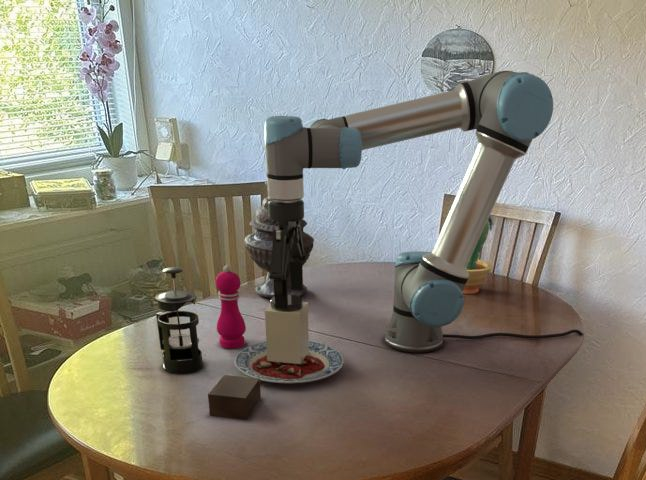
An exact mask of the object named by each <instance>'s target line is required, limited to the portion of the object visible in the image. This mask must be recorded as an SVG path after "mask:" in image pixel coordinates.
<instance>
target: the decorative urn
mask: <svg viewBox="0 0 646 480" xmlns="http://www.w3.org/2000/svg"><path fill="white" fill-rule="evenodd" d="M269 200H270V198H269V197H268V196H265V198H264V199H263V200H262V201H261V203H262V205H261V206H260V207H258V208H257V210H255V211H256V212H255V218H252V219H251V220H250V221H249V225H250V226H251V227H253V228H254V232H252V233H249V234H248V235H247V236H245V237H244V245H245V249H246V250H247V252H248V254H249V256H250V258H251V259H252V261H253V262H254V263H255V264H256V265H257V267H258V268H260V269H261V270H264V271H266V272H267V274H266V278H265V281H264V282H260V283H259V284H258V285H257V286H256V287H255V289H254V290H255V292H256V293H257V294H258V295H259V296H261V297H263V298H267V299H270V300H271V298H273V297H275V295H274V279H270V278H269V275H270V272H271V259H272V246H273V233H272V232H273V229H275V230H276V229H277V228H278V222H277V221H273V220H271V219H270V218H269V212H268V201H269ZM307 225H308V222H307V221H306V220H305V219H304V218H303V219H302V220H300V227H301V233H302V239H303V245H304V252H305V254H304V256H306V260H305V261H302V260H301V261H302V267H303V266H305V264H306V263H307V261H308V260H309V258H310V256H311V252H312V251H313V249H314V242H315V238H314V237H313V236H312V235H310V234H309V233H306V232H305V231H304V228H305V227H306V226H307ZM279 242H280V241H279ZM290 261H293V260H292V259H291V256H290V253H289V255H288V262H287V269H286V276H285V278H286V279H287V293H288V295H295V296H299V297H301V296H303V295H304V294H305V293H307V291H308V286H306V285H305V284H304V283H303V290H291V274H290ZM277 273H279V272H277Z"/></svg>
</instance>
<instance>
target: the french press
mask: <svg viewBox="0 0 646 480" xmlns="http://www.w3.org/2000/svg"><path fill="white" fill-rule="evenodd" d="M162 272H163V273H164V274H169V275H171V279H172V281H173V290H166V291H163V292H159V293H158V294H156V295H155V297H154V299H155V301H156V302H157V306H158V309H160V310H161V312H158V313H156V315H155V316H156V324H157V325H156V326H157V331H158V339H159V346H160V347H159V348H160V350H161V351H163V352H162V361H163V362H162V363H163V365H162V368H163V371H165V372H167V373H169V374H173V375H191V374H195V373H197V372H200V371H201V370H202V369H203V368H204V366H205V363H204V361H203V352H202V350H201V349H200V348H199V342H200V338H199V337H198V331H197V330H198V329H197V326H198V325H199V322H200V320H199V315H198V314H197V313H195V312H192V311H187V310H180V309H182V308H183V306H184V305H186V304H187V303H192V304H193V305H196V301H195V300H196V299H197V294H196V293H194V292H192V291H189V290H182V289H181V290H179V289H178V290H177V287H176V279H177V275H176V274H180V273H182V272H183V268H181V267H167V268H163V270H162ZM181 317H182V318H189V322H184V323H181V322H180V318H181ZM172 318H176V319H177V323H170V319H172ZM188 329H189V330H188ZM181 330H182V331H183V330H188V331H189V334H188V333H187V334H186V333H185V334H184V333H181V332H182V331H181ZM171 331H178V334H173V335H172V334H171Z"/></svg>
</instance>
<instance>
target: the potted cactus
mask: <svg viewBox="0 0 646 480" xmlns="http://www.w3.org/2000/svg"><path fill="white" fill-rule="evenodd" d="M493 218H494V217H493V216H492V213H491V214H490V216H489V218H488V220H487V223H486V225H485V227H484V229H483V231H482V234H481V236H480V238H479V240H478V242H477V245H476V247H475V249H474V251H473V253H472V256H471V258H470V260H469V262H468V264H467V271H468V274H469V278H468V280H467V283H466V285H465V287H464V289H463V291H462V293H463V295H464V294H465V295H470V294H472V295H473V294H476V293H478V292H479V291H480V286H482V284H483V283H484V281H485V279H486V277H487V275H489V274H490V273H491V270H492V267H493V265H492V264H491V263H489V262H488V261H485V260H482V259H479V257H480V254H481V251H482V248H483V246H484V244H485V242H486V241H487V239H488V237H489V236H488V235H489V231H490V232H491V231H492V229H493V225H494V219H493Z"/></svg>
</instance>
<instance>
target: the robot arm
mask: <svg viewBox="0 0 646 480" xmlns="http://www.w3.org/2000/svg"><path fill="white" fill-rule="evenodd" d="M553 113H554V98H553V94H552V91H551V88H550V87H549V86H548V84H547V82H545V80H543V78H541V77H539V76H537V75H535V74H533V73H529V72H526V71H521V72H520V71H519V72H517V71H512V70H502V71H501V70H500V71H496V72H492V73H490V74H487V75H484V76H481V77H478V78H475V79H471V80H468V81H463V82H460V83H457V84H456V86H455V88H454V89H453V90H449V91H445V92H441V93H436V94H432V95H431V94H430V95H428V96H424V97H423V96H422V97H419V98H415V99H414V98H413V99H411V100H406V101H401V102H398V103H393V104H388V105H385V106H381V107H376V108H371V109H367V110H363V111H358V112H355V113H350V114H346V115H343V116H338V117H334V118H329V119H328V118H320V119H316V120H314V121H313V122H312V123H310V125H309V126H308V127H306V126H305V127H304V125H303V121H302V119H301V117H299V116H295V115H294V116H293V115H273V116H269V117H267V118H266V119H265V121H264V141H263V142H264V151H265V152H264V153H265V154H264V155H265V169H266V170H265V171H266V181H265V182H264V186H266V187H267V197H269V198H270V200H269V201H268V212H269V218H270V219H271V220H273V221H277V222H278V228H277V229H276V230H275V229H273V232H272V233H273V246H272V259H271V272H270V275H269V278H270V279H274V295H275V309H288V293H287V279H286V278H285V276H286V269H287V262H288V255H289V253H290V256H291V259H292V260H293V261H290V274H291V290H303V284H304V273H303V270H304V269H303V266H302V261H305V260H306V256H304V254H305V252H304V245H303V239H302V233H301V227H300V220H302V219H303V220H304V218H305V201H304V200H303V198H304V197H305V190H304V189H305V188H304V187H305V186H304V169H342V170H345V169H352V168H353V169H354V168H358V167H359V166H360V164H361V162H362V154H363V153H362V152H363V151H365V150H370V149H374V148H377V147H378V148H379V147H381V146H387V145H391V144H396V143H400V142H404V141H409V140H413V139H417V138H421V137H425V136H431V135H433V134H438V133H443V132H447V131H451V130H456V129H460V130H461V131H462V132H469V131H473V130H475V136H476V138H477V139H476V140H477V146H476V148H475V150H474V153H473V155H472V157H471V160H470V163H469V165H468V167H467V169H466V171H465V174H464V176H463V179H462V181H461V183H460V185H459V188H458V190H457V192H456V194H455V197H454V200H453V201H452V204H451V206H450V209H449V211H448V214H447V216H446V218H445V221H444V222H443V225H442V227H441V230H440V232H439V234H438V237H437V239H436V242H435V243H434V247H433V249H432V251H422V250H421V251H417V250H416V251H415V250H414V251H405V252H404V251H403V252H400V253H399V254H397V256H396V260H395V265H394V270H395V271H394V285H393V286H394V289H393V291H394V292H393V305H392V307H393V308H392V309H393V310H392V313H391V316H390V319H389V322H388V324H387V326H386V329H385V332H384V340H383V341H384V344H386V346H388V347H389V348H391V349H393V350H396V351H400V352H403V353H411V354H414V353H415V354H423V353H430V352H434V351H437V350H439V349H440V348H442V346H443V344H444V338H446V339H447V338H448V339H463V340H478V339H479V340H480V339H486V338H492V337H511V338H518V339H519V338H520V339H529V340H530V339H535V340H537V339H551V338H559V337H564V336H568V335H571V334H577V335H579V336H583V335H584V334H583V333H582V331H581V330H579V329H570V330H567V331H564V332H558V333H551V334H541V335H540V334H538V335H537V334H535V335H534V334H520V333H511V332H491V333H486V334H479V335H465V334H464V335H462V334H447V333H443V330H442V327H445V326H447V325H450V324H452V323H453V322H455V321H456V320H457V319H458V317H459V316H460V315H461V313H462V311H463V308H464V304H465V299H464V297H465V296H464V294H463V293H462V291H463V289H464V287H465V285H466V283H467V280H468V278H469V274H468V271H467V264H468V262H469V260H470V258H471V256H472V253H473V251H474V249H475V247H476V245H477V242H478V240H479V238H480V236H481V234H482V231H483V229H484V227H485V225H486V223H487V220H488V218H489V216H490V214H491V215H492V212H493V209H494V207H495V205H496V203H497V201H498V198H499V196H500V194H501V192H502V189H503V187H504V185H505V183H506V181H507V179H508V176H509V174H510V172H511V171H512V168H513V166H514V163H515V162H516V160H518V159H519V158H522V157H524V156H526V155H527V153H528V150H529V148H530V146H531V144H532V142H533V139H536V138H538V137H540V135H542V134H543V132H544V131H546V129H547V128H548V126H549V125H550V122H551V120H552V117H553ZM279 241H280V242H279ZM301 260H302V261H301ZM277 272H279V273H277Z"/></svg>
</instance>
